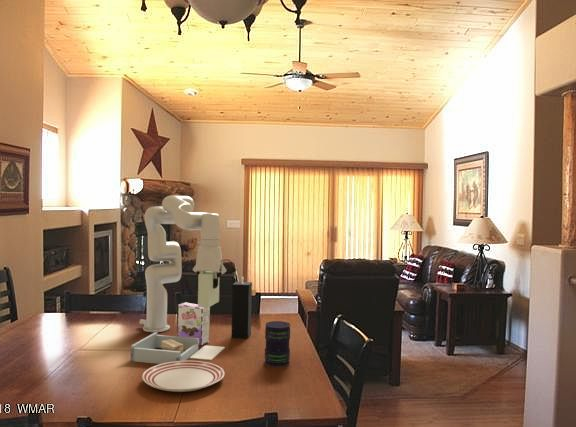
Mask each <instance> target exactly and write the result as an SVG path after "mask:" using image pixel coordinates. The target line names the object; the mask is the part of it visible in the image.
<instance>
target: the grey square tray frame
mask: <svg viewBox="0 0 576 427" xmlns="http://www.w3.org/2000/svg"><path fill="white" fill-rule="evenodd" d="M158 333H159V332H152V333H151V334H149V335H147V336H146V337H144V338H142V339H140V340H139V341H137V342H135V343H132V344H131V345H130V362H137V363H148V364H156V365H159V364H163V363H167V362H174V361H188V359H191V358H190V357H191V356H192V355H193V354H195V353H196V352H197V351H198V350H200V345H199V338H190V337H178V335H177V336H176V335H165V334H164V335H163V334H158ZM168 339H172V340H174V341H176V342H178V343H181V344H183V352H182V353H181V351H170V350H163V349H156V348H161V341H164V340H168Z"/></svg>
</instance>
